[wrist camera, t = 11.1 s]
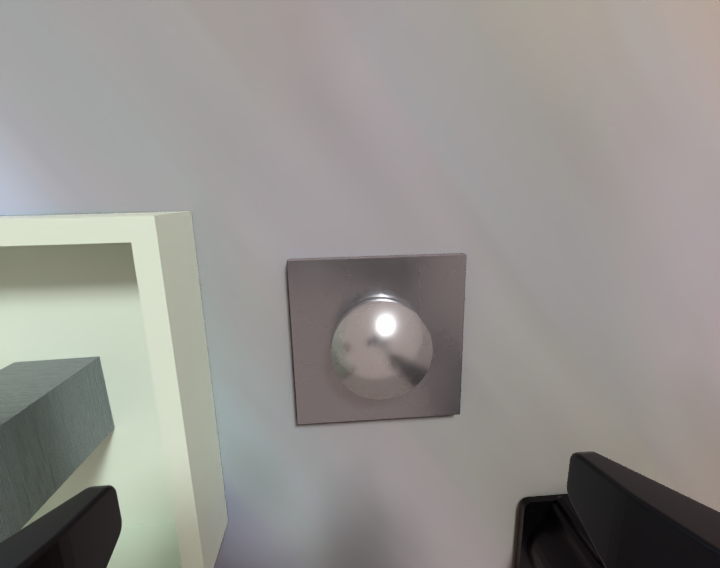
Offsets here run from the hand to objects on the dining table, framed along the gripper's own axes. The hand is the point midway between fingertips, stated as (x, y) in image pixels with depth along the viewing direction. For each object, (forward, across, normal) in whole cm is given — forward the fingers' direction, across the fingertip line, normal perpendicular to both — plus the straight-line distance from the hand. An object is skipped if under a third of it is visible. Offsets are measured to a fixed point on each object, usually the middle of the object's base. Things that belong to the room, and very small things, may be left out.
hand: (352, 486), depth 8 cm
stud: (+13, -2, +2) cm, 13 cm away
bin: (+13, +14, +4) cm, 20 cm away
